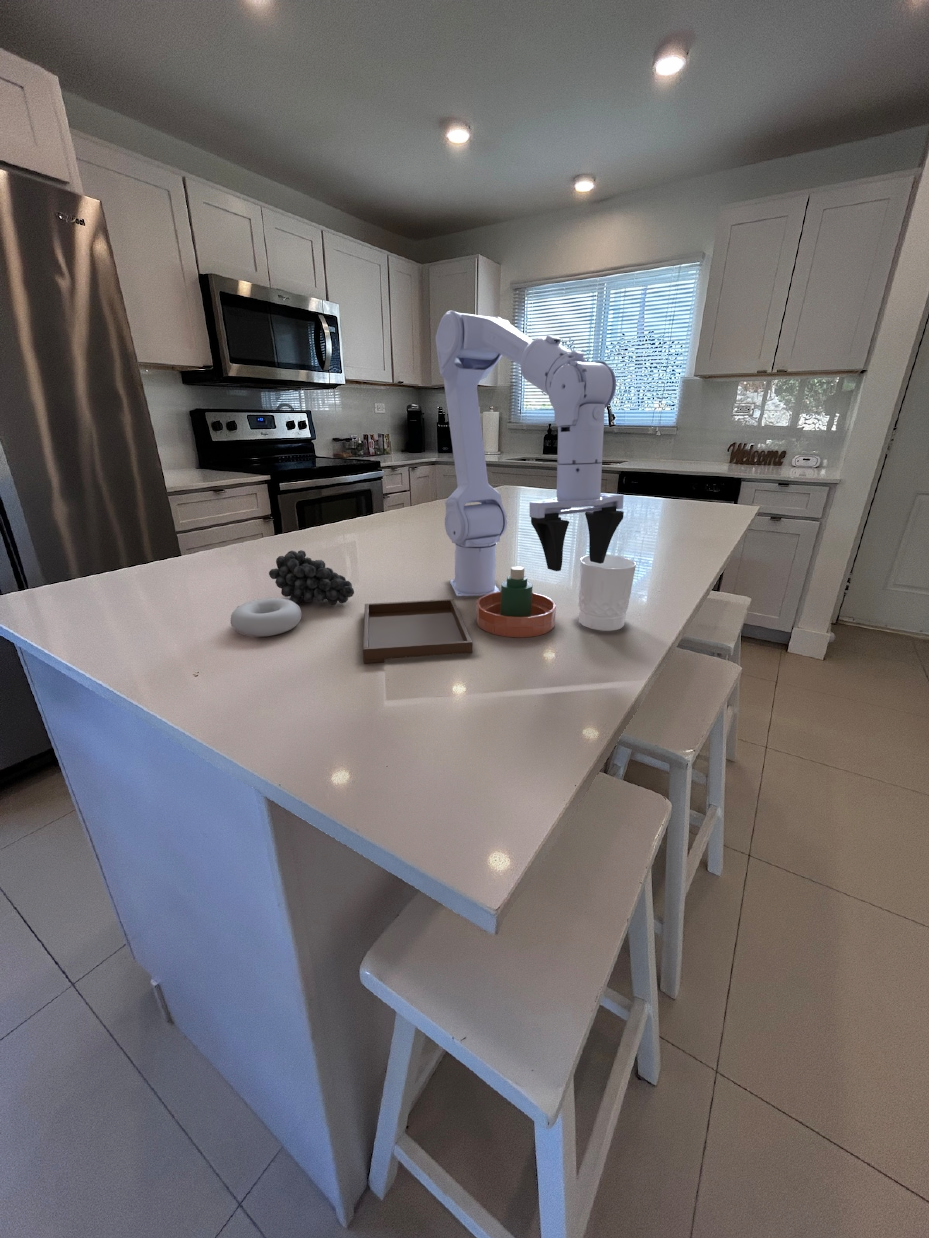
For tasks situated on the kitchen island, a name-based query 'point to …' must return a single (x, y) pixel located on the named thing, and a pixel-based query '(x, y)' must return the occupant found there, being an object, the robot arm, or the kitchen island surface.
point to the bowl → (515, 626)
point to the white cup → (605, 592)
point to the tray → (413, 630)
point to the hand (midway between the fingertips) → (575, 565)
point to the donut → (265, 617)
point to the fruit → (309, 580)
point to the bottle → (516, 594)
